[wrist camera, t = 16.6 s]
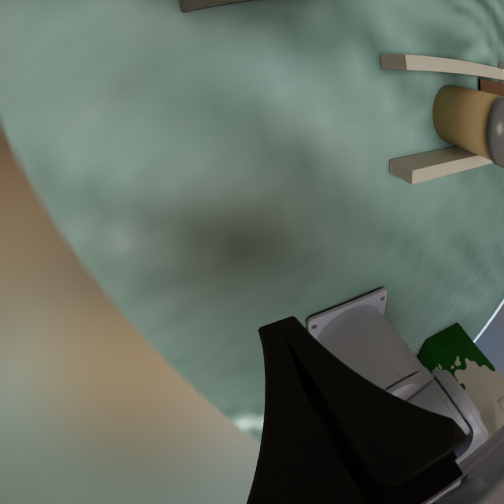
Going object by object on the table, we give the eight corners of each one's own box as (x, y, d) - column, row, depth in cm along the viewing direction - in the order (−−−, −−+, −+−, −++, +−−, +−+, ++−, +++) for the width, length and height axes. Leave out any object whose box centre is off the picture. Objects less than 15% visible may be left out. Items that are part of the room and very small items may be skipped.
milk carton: (444, 353, 40) (507, 438, 23) (404, 375, 38) (469, 473, 22) (463, 315, 35) (541, 407, 18) (422, 337, 33) (505, 448, 17)
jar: (470, 135, 20) (522, 157, 15) (435, 150, 20) (492, 176, 15) (464, 80, 17) (521, 93, 12) (426, 88, 17) (490, 102, 12)
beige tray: (503, 153, 22) (545, 174, 17) (389, 181, 20) (447, 216, 15) (502, 63, 16) (550, 75, 11) (378, 44, 14) (447, 43, 9)
